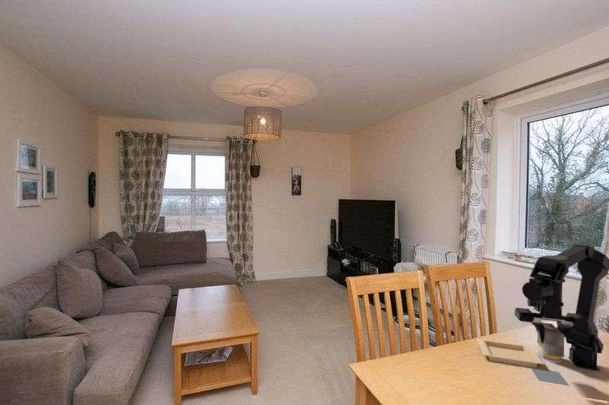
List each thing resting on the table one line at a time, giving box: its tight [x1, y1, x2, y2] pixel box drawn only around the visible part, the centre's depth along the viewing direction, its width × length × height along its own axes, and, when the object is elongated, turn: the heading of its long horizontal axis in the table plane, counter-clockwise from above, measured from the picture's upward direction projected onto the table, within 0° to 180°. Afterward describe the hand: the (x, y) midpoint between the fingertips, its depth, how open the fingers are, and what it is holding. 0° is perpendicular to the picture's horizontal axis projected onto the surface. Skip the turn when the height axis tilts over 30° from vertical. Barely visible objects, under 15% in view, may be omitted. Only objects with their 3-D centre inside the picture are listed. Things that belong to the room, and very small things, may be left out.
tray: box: [476, 338, 545, 368], centre depth 115 cm, size 18×13×2 cm
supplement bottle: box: [537, 321, 562, 364], centre depth 113 cm, size 7×7×13 cm
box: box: [536, 321, 565, 358], centre depth 102 cm, size 4×9×7 cm, turn 161°
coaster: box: [529, 367, 571, 387], centre depth 102 cm, size 8×8×1 cm
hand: (549, 343), depth 102 cm, fingers closed on box, 4 cm apart
